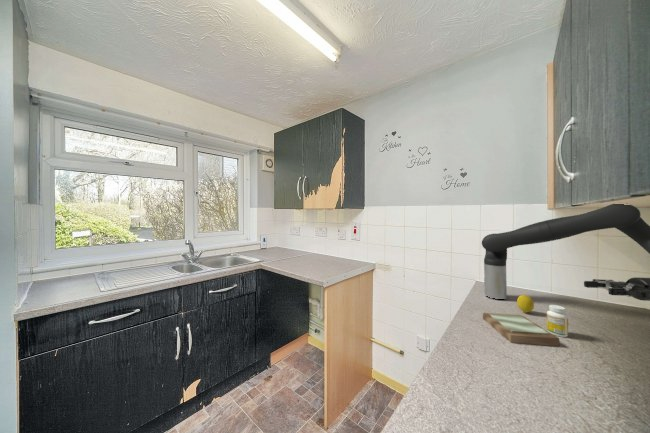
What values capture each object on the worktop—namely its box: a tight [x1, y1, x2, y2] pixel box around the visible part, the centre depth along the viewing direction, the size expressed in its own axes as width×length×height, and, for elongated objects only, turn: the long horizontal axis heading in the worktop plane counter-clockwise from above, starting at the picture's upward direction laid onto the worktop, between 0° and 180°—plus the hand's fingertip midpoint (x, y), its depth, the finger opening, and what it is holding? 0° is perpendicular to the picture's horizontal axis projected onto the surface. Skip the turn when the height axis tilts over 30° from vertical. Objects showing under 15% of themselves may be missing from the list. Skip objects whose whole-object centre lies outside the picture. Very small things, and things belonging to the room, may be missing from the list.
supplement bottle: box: [546, 304, 569, 338], centre depth 81 cm, size 5×5×10 cm
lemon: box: [516, 294, 535, 314], centre depth 98 cm, size 6×6×8 cm
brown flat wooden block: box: [482, 312, 560, 347], centre depth 83 cm, size 18×14×3 cm
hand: (596, 287), depth 79 cm, fingers open, 8 cm apart
